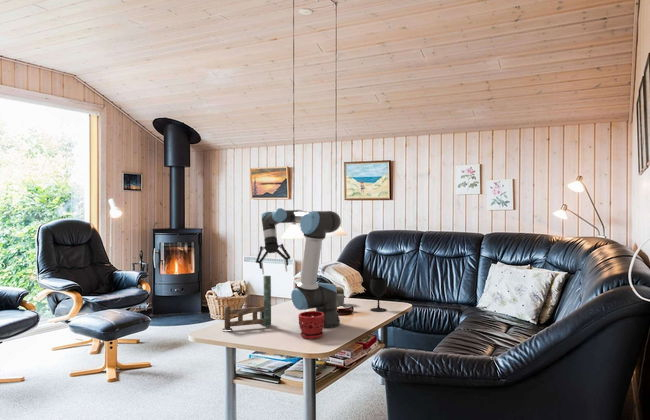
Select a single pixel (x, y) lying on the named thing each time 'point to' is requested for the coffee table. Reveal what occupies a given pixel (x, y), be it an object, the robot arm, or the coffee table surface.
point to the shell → (340, 290)
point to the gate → (252, 310)
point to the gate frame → (260, 318)
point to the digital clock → (340, 300)
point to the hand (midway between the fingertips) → (274, 272)
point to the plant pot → (311, 324)
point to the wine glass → (378, 291)
